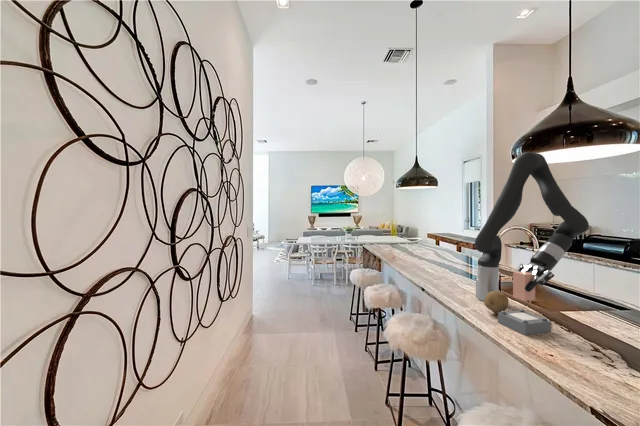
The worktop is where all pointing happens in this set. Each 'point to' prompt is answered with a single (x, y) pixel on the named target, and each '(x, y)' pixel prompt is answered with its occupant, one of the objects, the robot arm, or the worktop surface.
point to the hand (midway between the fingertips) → (520, 287)
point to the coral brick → (522, 286)
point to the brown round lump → (496, 301)
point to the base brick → (524, 322)
